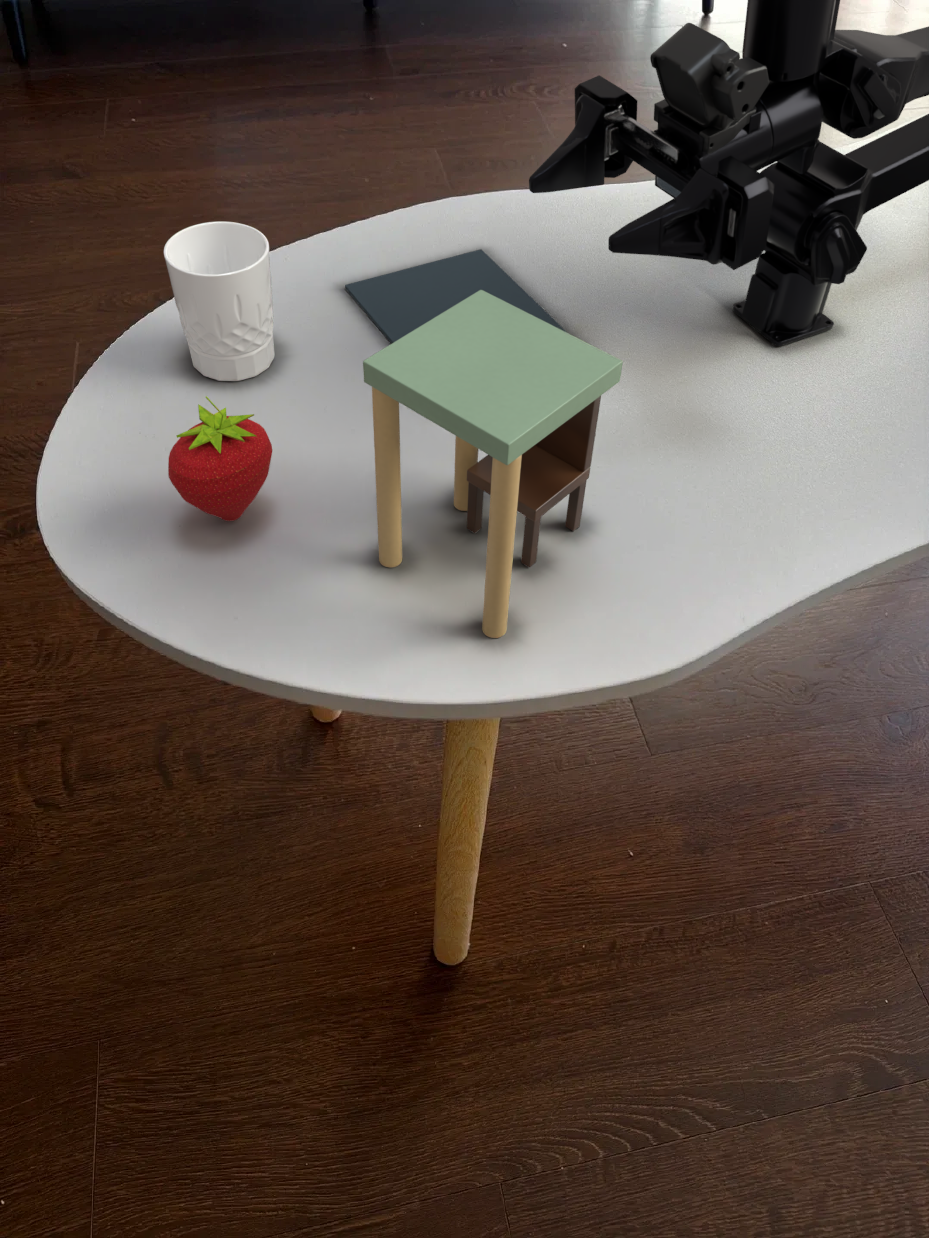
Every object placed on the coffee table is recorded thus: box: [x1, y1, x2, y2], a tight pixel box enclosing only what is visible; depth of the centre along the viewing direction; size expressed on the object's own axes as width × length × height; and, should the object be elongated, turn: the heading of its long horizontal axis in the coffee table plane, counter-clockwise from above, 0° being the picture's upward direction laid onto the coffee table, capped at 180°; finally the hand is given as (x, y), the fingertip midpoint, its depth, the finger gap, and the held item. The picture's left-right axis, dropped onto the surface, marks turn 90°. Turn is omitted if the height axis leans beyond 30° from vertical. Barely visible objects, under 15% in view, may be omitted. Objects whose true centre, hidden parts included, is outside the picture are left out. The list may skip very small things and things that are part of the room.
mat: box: [344, 248, 568, 344], centre depth 95 cm, size 14×18×1 cm
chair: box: [466, 395, 602, 568], centre depth 74 cm, size 6×6×12 cm
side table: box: [362, 290, 624, 639], centre depth 70 cm, size 10×11×16 cm
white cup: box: [163, 221, 275, 382], centre depth 87 cm, size 8×8×10 cm
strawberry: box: [167, 395, 273, 522], centre depth 74 cm, size 6×8×10 cm
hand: (568, 214), depth 75 cm, fingers open, 9 cm apart
